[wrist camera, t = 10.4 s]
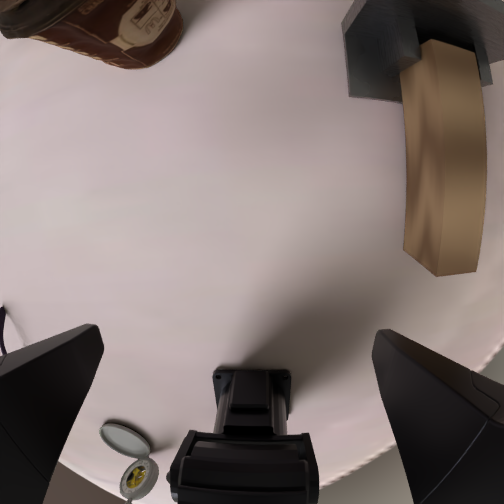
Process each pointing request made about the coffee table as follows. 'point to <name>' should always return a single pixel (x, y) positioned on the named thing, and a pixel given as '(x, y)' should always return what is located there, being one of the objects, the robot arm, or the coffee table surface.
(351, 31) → the bracket
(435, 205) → the rail
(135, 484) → the pocket watch
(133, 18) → the coffee cup
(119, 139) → the coffee table surface
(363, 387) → the coffee table surface
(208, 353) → the coffee table surface
